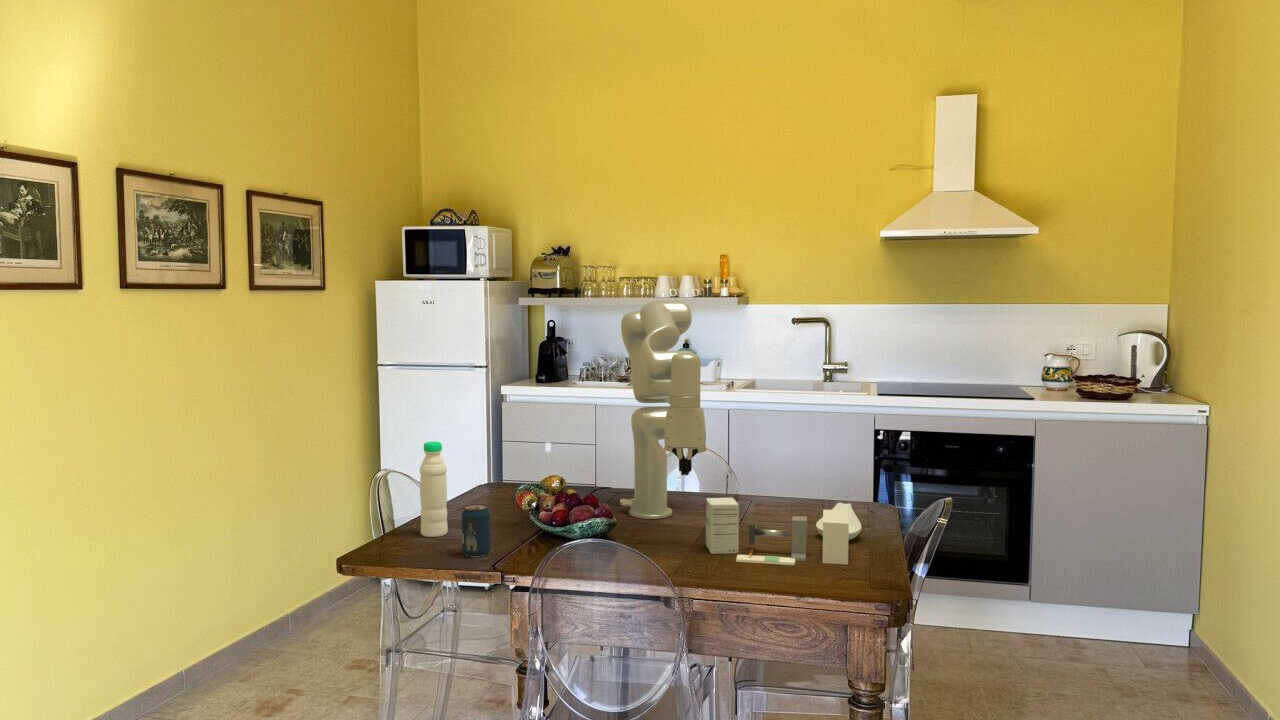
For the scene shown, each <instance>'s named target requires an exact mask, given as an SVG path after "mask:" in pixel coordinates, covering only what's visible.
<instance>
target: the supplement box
mask: <svg viewBox="0 0 1280 720" xmlns="http://www.w3.org/2000/svg"><path fill="white" fill-rule="evenodd" d="M739 524H740V504H739V503H738V502H737V501H736V499H735V498H734V497H709V498H708V497H707V498H706V499H705V546H706V548H707V550H708V551H709V553H710V554H711V555H712V554H713V555H717V554H720V555H723V554H726V555H727V554H730V555H731V554H739V553H740V552H739V550H740V549H739V547H740V545H739V543H740V542H739V541H740V540H739V537H740V535H739V534H740V533H739V530H740V528H739V527H740V525H739Z"/></svg>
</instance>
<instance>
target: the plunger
mask: <svg viewBox="0 0 1280 720" xmlns="http://www.w3.org/2000/svg"><path fill="white" fill-rule="evenodd" d="M759 536H762V537H782V538H788V537H789V530H786V529H785V530H783V529H770V528H769V529H766V528H763V529H762V528H758V519H756V518H751V519H750V521H749V524H748V545H749V546H755V545H756V542H757V537H759ZM748 552H749V553H748V555H749V556H752V555H753V552H754V549H753V548H750V549H749V551H748Z"/></svg>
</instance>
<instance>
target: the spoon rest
mask: <svg viewBox="0 0 1280 720" xmlns="http://www.w3.org/2000/svg"><path fill="white" fill-rule="evenodd" d="M831 510H844V511H848V521H849V538H848V542H850V540H853V539H854V538H855V539H856V538H857V536H858V535H859V534H860V533H861V530H862V524H861V522H860V520H859V518H858V516H857V515H856V513H855V512H854V509H853V506H852V503H843V502H837V503H836V504H835V506H834V507H833V508H832V509H831ZM815 527H816V530H817V532H818V533H819V534H820V535H821V536H822V537H823V516H822V517H821V518H819V520H817V522H816V524H815Z"/></svg>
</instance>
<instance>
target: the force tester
mask: <svg viewBox="0 0 1280 720" xmlns="http://www.w3.org/2000/svg"><path fill="white" fill-rule="evenodd" d="M822 511H823V513H822V517H823V536H822V564H830V565H831V564H832V565H849V541H848V538H849V521H848V511H844V510H832V509H822ZM807 519H808V517H807V516H803V515H802V516H801V515H800V516H799V515H792V519H791V520H792V521H791V556H790V557H788V556H787V557H785V556H776V555H753V554H752V556H749V554H737V556H736V559H735V562H736V563H751V564H754V563H755V564H770V565H784V566H785V565H786V566H795V565H796V562H807V561H806V560H807V549H808V547H807V546H808V544H807V543H808V542H807V540H808V539H807V538H808V537H807V536H808V534H807V533H808V532H807V531H808V520H807Z"/></svg>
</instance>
